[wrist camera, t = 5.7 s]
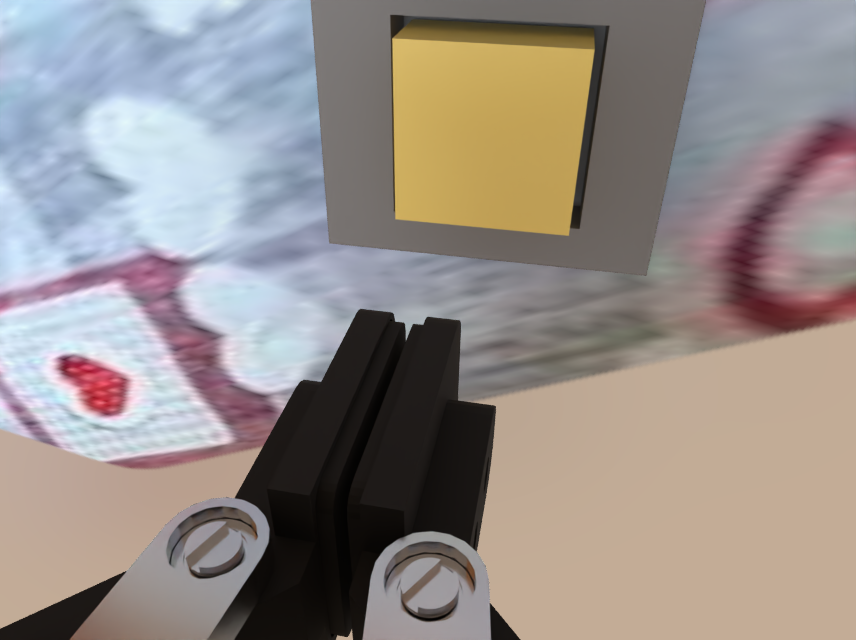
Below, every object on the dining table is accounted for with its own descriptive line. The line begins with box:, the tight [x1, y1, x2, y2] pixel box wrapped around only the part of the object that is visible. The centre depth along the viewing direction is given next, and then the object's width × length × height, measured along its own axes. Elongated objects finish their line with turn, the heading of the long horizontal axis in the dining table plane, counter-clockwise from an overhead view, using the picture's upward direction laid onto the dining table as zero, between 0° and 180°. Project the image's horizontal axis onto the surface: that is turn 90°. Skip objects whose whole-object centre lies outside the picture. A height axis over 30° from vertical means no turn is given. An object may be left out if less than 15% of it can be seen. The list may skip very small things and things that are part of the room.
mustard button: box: [392, 19, 595, 236], centre depth 23 cm, size 6×6×3 cm
